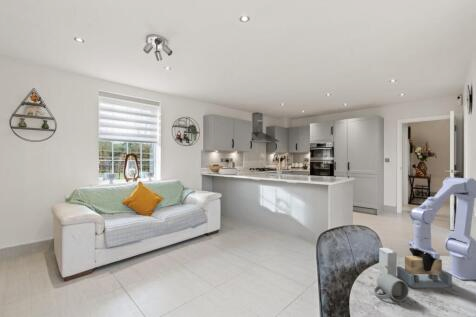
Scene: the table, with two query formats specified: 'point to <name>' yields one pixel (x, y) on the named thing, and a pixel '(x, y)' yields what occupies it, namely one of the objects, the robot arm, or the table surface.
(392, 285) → the ceramic mug
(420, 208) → the robot arm
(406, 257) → the oak plank
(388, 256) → the skincare box
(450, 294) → the table surface
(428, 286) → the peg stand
